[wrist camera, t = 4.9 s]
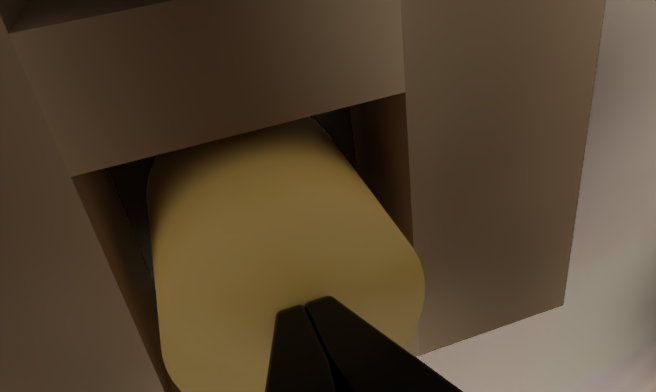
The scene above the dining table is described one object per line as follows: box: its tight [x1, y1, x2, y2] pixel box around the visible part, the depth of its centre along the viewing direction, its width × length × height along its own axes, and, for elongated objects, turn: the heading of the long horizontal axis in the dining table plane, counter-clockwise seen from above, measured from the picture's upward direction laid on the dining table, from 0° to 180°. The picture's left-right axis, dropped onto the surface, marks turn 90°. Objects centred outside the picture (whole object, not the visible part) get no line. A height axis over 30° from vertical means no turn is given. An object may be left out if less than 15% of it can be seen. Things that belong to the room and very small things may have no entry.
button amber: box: [147, 116, 425, 392], centre depth 10 cm, size 4×4×4 cm
